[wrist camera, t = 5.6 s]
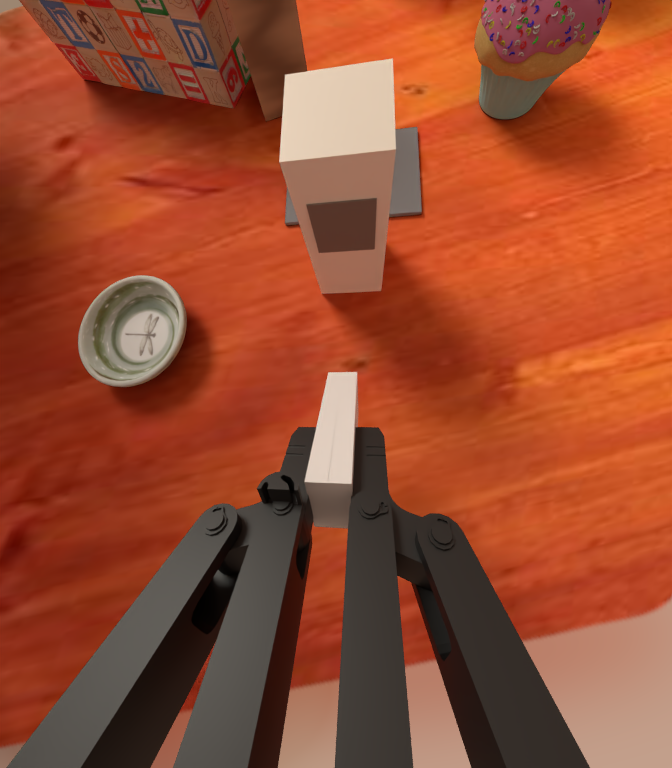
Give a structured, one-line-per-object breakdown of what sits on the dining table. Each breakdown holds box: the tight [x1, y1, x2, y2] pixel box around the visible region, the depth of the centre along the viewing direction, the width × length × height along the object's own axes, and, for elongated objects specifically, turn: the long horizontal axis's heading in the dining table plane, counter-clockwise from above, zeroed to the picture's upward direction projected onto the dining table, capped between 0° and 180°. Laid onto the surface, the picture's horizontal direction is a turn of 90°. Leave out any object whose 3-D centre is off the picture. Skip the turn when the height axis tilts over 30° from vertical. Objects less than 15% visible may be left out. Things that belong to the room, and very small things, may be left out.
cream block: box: [279, 59, 396, 294], centre depth 17 cm, size 5×5×11 cm
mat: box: [285, 127, 422, 225], centre depth 24 cm, size 12×9×1 cm
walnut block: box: [227, 0, 307, 121], centre depth 21 cm, size 5×5×11 cm
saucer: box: [78, 275, 187, 387], centre depth 22 cm, size 10×10×2 cm
